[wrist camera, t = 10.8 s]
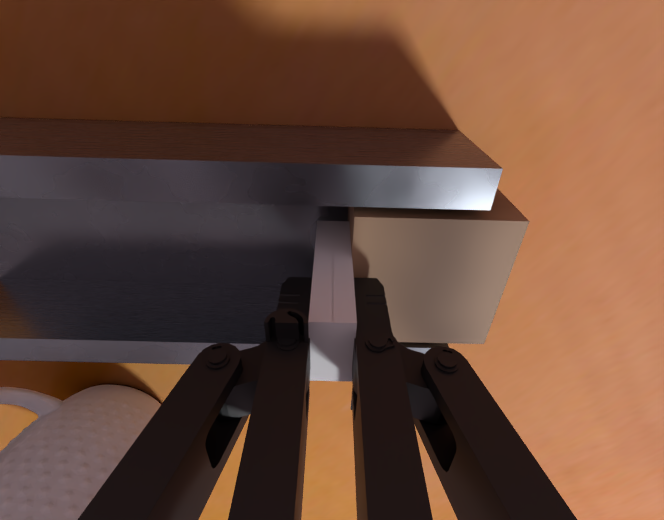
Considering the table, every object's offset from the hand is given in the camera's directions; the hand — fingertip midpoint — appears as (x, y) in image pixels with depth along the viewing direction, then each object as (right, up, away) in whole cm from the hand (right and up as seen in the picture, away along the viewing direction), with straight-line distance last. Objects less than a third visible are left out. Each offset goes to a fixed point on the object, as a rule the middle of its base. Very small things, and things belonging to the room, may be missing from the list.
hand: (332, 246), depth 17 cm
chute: (-7, +1, +2) cm, 7 cm away
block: (+4, +1, +1) cm, 4 cm away
